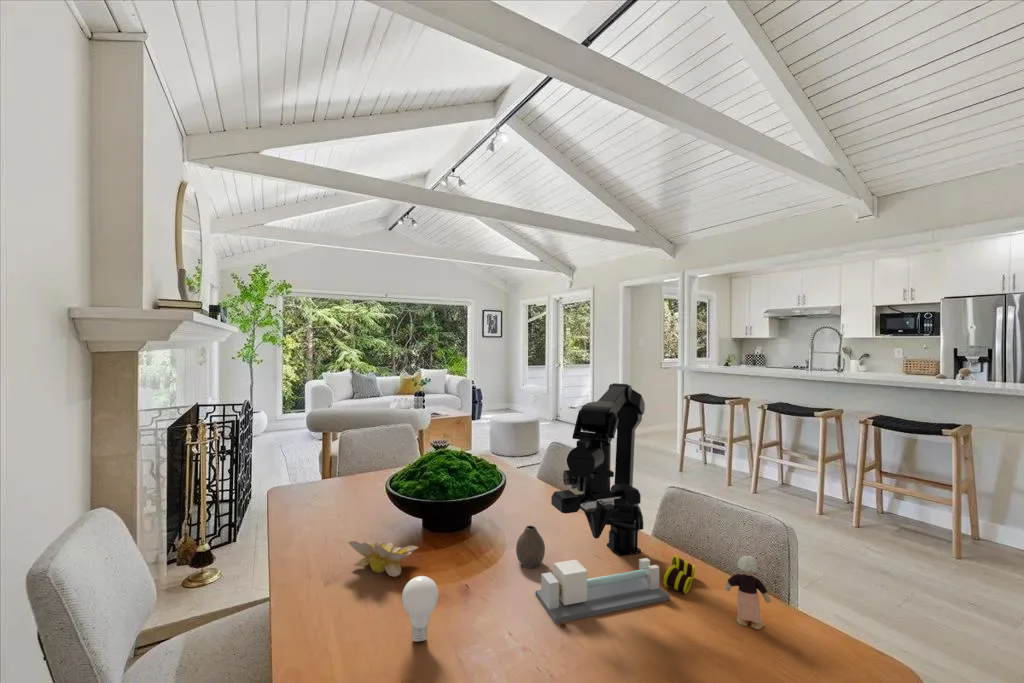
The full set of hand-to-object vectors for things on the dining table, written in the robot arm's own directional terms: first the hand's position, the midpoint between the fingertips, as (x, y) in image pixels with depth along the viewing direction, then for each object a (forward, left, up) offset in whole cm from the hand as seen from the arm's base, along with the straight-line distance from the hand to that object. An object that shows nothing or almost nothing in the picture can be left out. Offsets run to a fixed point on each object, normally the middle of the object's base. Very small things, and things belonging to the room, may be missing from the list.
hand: (595, 537), depth 96 cm
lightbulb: (+38, +4, -12) cm, 40 cm away
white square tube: (+7, +2, -10) cm, 13 cm away
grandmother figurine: (-22, +18, -12) cm, 31 cm away
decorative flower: (+41, -24, -12) cm, 49 cm away
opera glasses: (-20, +2, -12) cm, 24 cm away
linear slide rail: (0, +2, -12) cm, 12 cm away
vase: (+9, -16, -12) cm, 22 cm away
